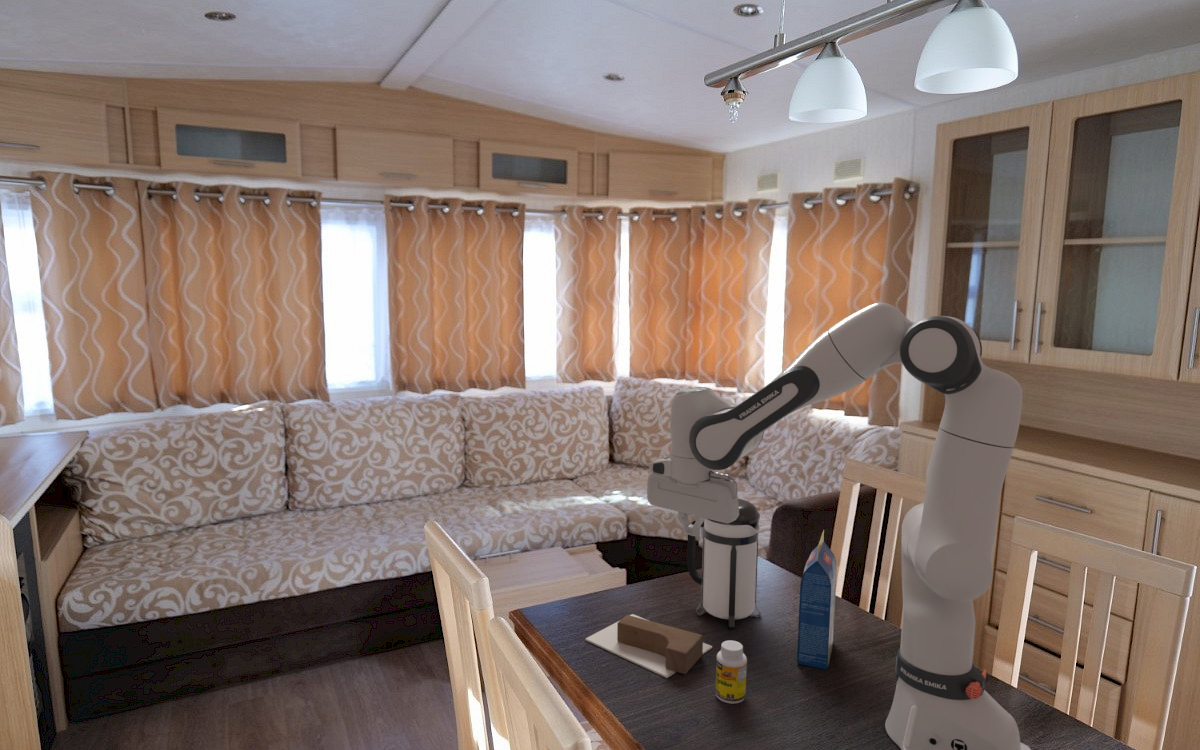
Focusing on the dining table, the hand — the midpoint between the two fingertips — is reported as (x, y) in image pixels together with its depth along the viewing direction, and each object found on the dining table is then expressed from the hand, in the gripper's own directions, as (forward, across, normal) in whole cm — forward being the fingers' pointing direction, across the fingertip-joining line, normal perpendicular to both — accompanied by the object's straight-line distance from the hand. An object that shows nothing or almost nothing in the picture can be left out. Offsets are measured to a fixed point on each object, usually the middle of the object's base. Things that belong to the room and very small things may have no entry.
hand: (691, 534), depth 145 cm
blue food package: (+27, -18, -19) cm, 38 cm away
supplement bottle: (+27, -14, +7) cm, 31 cm away
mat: (+26, +10, +2) cm, 28 cm away
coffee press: (+27, +6, -21) cm, 35 cm away
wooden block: (+24, -3, +2) cm, 24 cm away
